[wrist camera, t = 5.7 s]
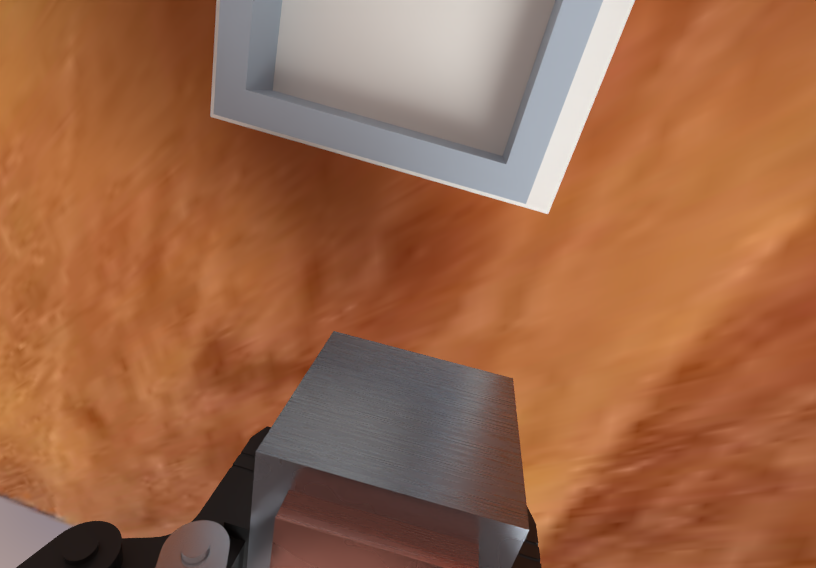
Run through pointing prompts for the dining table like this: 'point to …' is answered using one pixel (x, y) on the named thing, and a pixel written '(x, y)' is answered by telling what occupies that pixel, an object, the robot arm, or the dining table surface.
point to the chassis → (422, 83)
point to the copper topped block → (390, 466)
